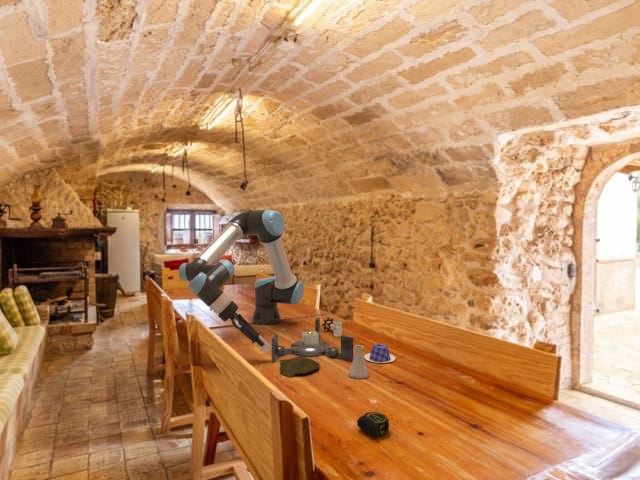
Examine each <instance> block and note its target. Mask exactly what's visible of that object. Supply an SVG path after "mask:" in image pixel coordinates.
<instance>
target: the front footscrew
mask: <svg viewBox="0 0 640 480" xmlns="http://www.w3.org/2000/svg"><path fill="white" fill-rule="evenodd" d="M271 347H272V349H271V362H272V363H276V362H277V360H279V358H280V357H283V356H285V355H286V354H285V349H286V348H285V346H284V345H279V334H274V335H273V336H272V337H271Z"/></svg>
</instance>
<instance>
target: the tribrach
mask: <svg viewBox="0 0 640 480" xmlns="http://www.w3.org/2000/svg"><path fill="white" fill-rule="evenodd" d="M285 355H294V356H297V357H306V358H309V357H310V358H311V357H312V358H313V357H315V358H316V357H320V356H321V357H322V356H326V357H328V358H330V359H339V360H344V361H348V362H350V363H352V362H353V359H354V337H353V336H349V335H344V334H342V335H341V336H340V347H337V346H330V344H329V343H328V342H327V341H324V340H321V317H320V316H317V317H316V318H315V330H313V331H312V330H310V331H309V330H308V331H301V340H298V341H295V342H293V343H291V344H290V348H285Z"/></svg>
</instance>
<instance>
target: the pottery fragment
mask: <svg viewBox="0 0 640 480" xmlns="http://www.w3.org/2000/svg"><path fill="white" fill-rule="evenodd" d="M320 367H321V364H320V363H319V362H318V361H315V360H314V359H312V358H309V357H304V356H295V357H292V358H289V359H280V360H279V369H280V370H279V373H280V375H282V376H285V377H288V378H290V379H291V378H292V377H293V376H295V374H296V375H302V374H305V375H306V374H308V373H311V372H312V371H314V370H318V369H319V368H320Z"/></svg>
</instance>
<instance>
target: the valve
mask: <svg viewBox="0 0 640 480" xmlns="http://www.w3.org/2000/svg"><path fill="white" fill-rule="evenodd" d="M323 322H324V323H322V324H321V325H322V327H323V330H324V331H326V330H327V331H328V332H330V331H331V330H332V331H333V335H332V336H333V337H336V338H337V337H340V338H341V335H343V333H342V331H343V326H342V325H343V324H342V323H343V322H342V321H340V320H334V319H333V318H330V316H329V317H327V318H326V319H323Z"/></svg>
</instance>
